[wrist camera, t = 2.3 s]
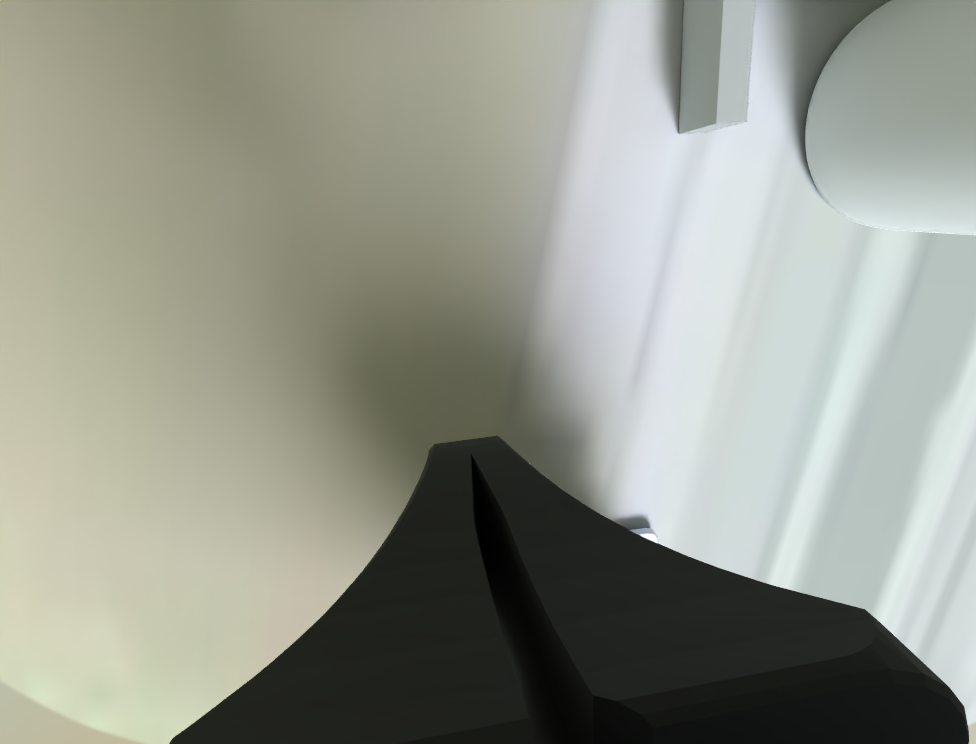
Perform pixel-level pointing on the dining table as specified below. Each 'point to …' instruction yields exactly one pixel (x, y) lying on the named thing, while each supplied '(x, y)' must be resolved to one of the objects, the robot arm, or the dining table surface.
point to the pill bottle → (900, 119)
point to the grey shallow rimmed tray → (715, 64)
